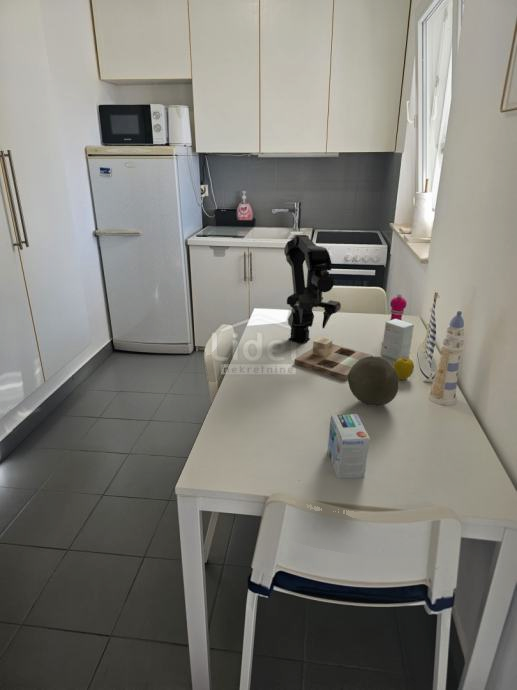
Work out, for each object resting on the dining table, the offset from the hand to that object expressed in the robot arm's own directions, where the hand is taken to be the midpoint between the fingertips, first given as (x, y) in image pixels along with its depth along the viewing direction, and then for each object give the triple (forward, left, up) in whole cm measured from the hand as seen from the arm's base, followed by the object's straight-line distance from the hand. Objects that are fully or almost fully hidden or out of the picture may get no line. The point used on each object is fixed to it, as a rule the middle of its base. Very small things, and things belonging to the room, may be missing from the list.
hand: (311, 325), depth 164 cm
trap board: (+11, -1, -11) cm, 15 cm away
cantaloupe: (+34, -21, -11) cm, 41 cm away
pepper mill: (+20, +32, -11) cm, 39 cm away
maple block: (+6, -1, -9) cm, 11 cm away
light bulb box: (+41, -51, -11) cm, 66 cm away
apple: (+35, +2, -11) cm, 36 cm away
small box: (+26, +19, -11) cm, 34 cm away
